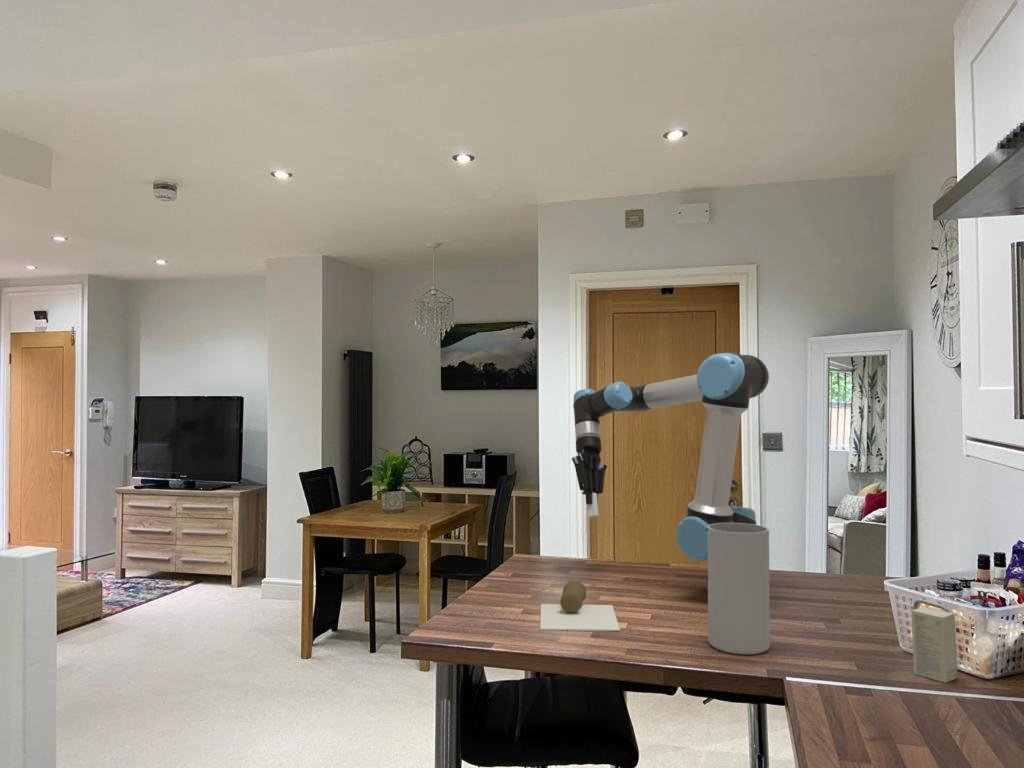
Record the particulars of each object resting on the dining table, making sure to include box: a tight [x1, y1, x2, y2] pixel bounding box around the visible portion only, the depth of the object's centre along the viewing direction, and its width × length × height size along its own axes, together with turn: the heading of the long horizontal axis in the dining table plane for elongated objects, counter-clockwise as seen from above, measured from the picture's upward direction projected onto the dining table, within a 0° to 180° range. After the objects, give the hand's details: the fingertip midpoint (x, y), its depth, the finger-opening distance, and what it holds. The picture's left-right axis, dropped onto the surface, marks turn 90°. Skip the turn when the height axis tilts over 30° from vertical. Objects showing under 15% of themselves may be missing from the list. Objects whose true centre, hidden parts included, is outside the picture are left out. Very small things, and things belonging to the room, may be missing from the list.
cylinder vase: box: [707, 523, 771, 656], centre depth 156 cm, size 12×12×25 cm
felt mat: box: [539, 603, 621, 632], centre depth 175 cm, size 20×18×1 cm
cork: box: [559, 580, 587, 613], centre depth 182 cm, size 6×6×11 cm
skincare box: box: [911, 606, 958, 683], centre depth 138 cm, size 6×4×12 cm
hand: (592, 516), depth 207 cm, fingers closed
